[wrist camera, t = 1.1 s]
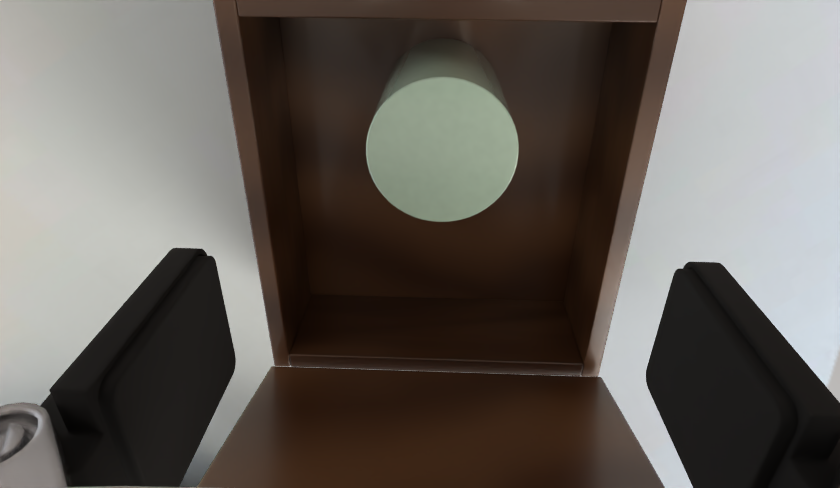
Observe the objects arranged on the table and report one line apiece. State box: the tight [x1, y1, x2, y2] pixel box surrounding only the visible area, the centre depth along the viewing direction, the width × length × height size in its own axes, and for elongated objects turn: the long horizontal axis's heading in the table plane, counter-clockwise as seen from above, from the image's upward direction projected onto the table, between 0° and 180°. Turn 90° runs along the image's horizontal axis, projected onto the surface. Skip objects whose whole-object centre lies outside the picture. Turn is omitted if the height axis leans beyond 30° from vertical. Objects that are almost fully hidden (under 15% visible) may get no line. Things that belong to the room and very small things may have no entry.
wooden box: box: [213, 0, 687, 377], centre depth 24 cm, size 17×16×6 cm
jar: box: [366, 38, 519, 222], centre depth 21 cm, size 5×5×7 cm
